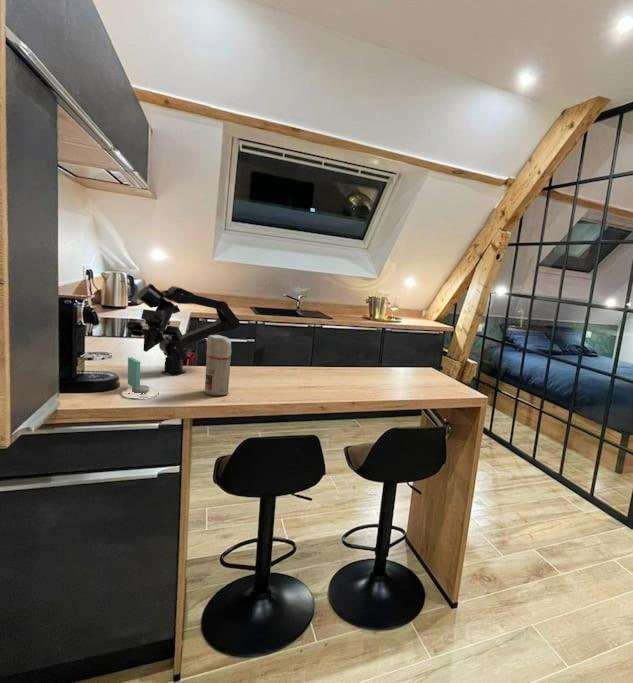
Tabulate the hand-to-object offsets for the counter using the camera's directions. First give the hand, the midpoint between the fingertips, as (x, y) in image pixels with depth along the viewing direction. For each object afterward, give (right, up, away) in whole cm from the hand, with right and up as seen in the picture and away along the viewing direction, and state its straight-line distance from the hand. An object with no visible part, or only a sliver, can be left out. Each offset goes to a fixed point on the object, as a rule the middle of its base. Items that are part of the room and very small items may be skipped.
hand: (144, 351), depth 136 cm
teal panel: (0, -12, -6) cm, 13 cm away
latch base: (+2, -14, -8) cm, 16 cm away
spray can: (+24, -15, 0) cm, 28 cm away
